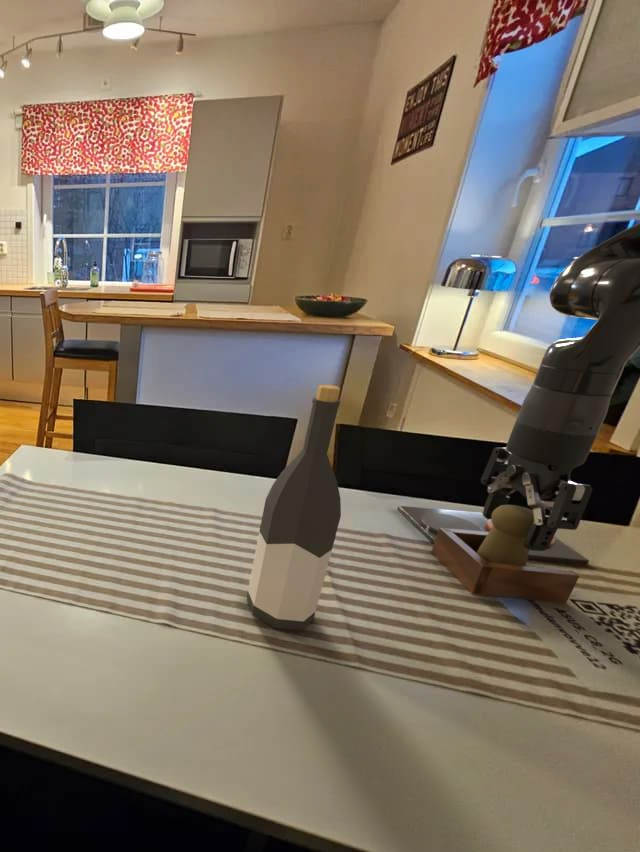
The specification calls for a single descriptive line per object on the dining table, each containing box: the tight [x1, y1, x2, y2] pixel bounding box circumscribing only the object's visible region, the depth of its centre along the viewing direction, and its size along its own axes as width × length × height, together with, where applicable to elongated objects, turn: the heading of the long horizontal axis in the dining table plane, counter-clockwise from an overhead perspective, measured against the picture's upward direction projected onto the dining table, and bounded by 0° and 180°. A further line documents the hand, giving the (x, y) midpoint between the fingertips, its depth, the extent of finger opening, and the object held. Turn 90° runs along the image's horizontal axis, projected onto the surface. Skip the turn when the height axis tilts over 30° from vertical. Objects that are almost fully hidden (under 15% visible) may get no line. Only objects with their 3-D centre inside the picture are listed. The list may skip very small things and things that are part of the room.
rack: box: [430, 528, 580, 605], centre depth 71 cm, size 11×10×4 cm
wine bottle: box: [246, 384, 342, 632], centre depth 59 cm, size 8×8×30 cm
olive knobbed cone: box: [476, 504, 535, 566], centre depth 69 cm, size 6×6×11 cm
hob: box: [397, 505, 590, 566], centre depth 82 cm, size 20×14×1 cm
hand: (511, 532), depth 69 cm, fingers open, 8 cm apart
